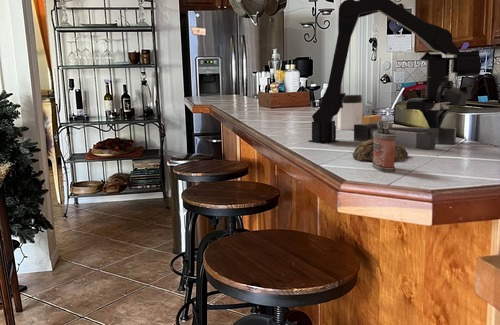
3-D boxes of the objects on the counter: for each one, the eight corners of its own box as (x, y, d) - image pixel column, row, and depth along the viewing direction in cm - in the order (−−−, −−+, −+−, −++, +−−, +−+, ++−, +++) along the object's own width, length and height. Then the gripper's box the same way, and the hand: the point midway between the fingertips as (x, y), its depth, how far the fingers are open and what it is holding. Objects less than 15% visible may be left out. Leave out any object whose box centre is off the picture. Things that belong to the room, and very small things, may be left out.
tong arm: (454, 144, 128) (454, 128, 127) (383, 141, 138) (383, 126, 137) (455, 143, 130) (456, 127, 129) (385, 140, 140) (385, 125, 139)
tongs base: (426, 151, 120) (427, 131, 119) (353, 141, 141) (354, 124, 140) (449, 147, 125) (450, 128, 124) (375, 138, 146) (375, 122, 145)
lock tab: (369, 123, 138) (369, 116, 137) (361, 123, 140) (361, 116, 140) (381, 122, 140) (381, 115, 140) (373, 121, 143) (373, 115, 143)
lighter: (369, 165, 104) (369, 119, 102) (384, 164, 105) (385, 118, 103) (382, 173, 96) (383, 123, 95) (398, 172, 97) (400, 122, 95)
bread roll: (359, 153, 122) (359, 134, 121) (410, 156, 116) (411, 135, 115) (344, 162, 111) (344, 141, 110) (400, 165, 105) (400, 143, 104)
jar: (348, 130, 168) (349, 96, 166) (332, 129, 174) (332, 95, 172) (367, 128, 172) (367, 94, 170) (350, 127, 179) (350, 94, 177)
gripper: (442, 77, 119) (439, 140, 122) (485, 76, 129) (482, 134, 132) (405, 78, 129) (403, 136, 131) (448, 76, 139) (446, 130, 141)
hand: (435, 134), depth 134 cm, fingers closed
